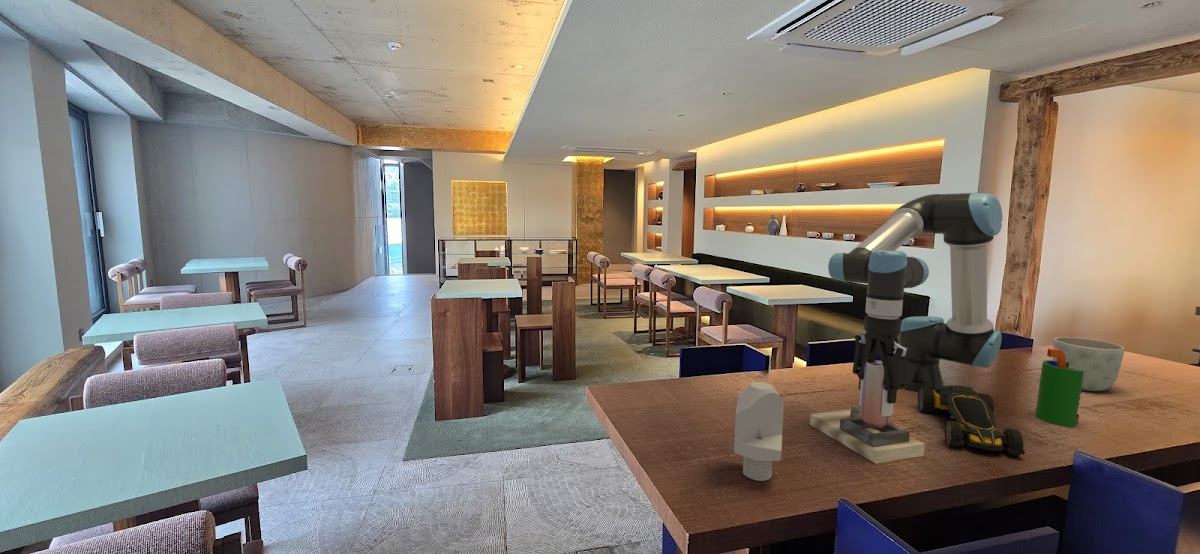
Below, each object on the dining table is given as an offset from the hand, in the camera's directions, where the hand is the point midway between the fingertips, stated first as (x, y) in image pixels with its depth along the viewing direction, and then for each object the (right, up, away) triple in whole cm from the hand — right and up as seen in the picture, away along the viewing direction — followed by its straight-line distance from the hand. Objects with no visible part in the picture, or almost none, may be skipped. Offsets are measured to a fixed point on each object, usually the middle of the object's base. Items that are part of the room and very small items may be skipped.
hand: (875, 409), depth 120 cm
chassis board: (0, -9, +5) cm, 10 cm away
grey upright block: (-33, -11, -12) cm, 37 cm away
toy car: (+30, -9, +12) cm, 34 cm away
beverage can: (0, -4, 0) cm, 4 cm away
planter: (+95, -5, +46) cm, 106 cm away
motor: (+61, -8, +19) cm, 65 cm away
